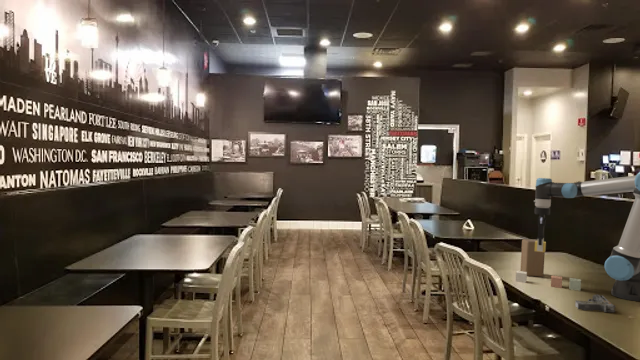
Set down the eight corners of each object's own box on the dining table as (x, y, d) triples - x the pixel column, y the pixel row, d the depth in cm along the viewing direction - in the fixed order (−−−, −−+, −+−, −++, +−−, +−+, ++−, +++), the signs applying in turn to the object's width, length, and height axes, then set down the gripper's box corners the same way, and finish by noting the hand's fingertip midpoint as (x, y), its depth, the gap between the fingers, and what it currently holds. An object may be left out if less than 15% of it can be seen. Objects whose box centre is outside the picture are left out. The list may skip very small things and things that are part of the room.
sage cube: (580, 288, 235) (580, 279, 235) (580, 291, 231) (580, 281, 231) (569, 287, 238) (569, 277, 238) (569, 289, 233) (569, 279, 233)
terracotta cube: (561, 286, 239) (562, 276, 239) (561, 288, 235) (562, 278, 235) (551, 284, 242) (551, 275, 242) (550, 286, 237) (551, 277, 237)
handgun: (568, 299, 218) (604, 302, 214) (577, 311, 199) (617, 315, 194) (568, 291, 218) (604, 294, 214) (578, 302, 199) (617, 306, 194)
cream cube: (526, 281, 248) (526, 272, 247) (525, 283, 243) (526, 273, 243) (516, 279, 250) (516, 270, 250) (515, 281, 246) (516, 272, 245)
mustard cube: (545, 251, 244) (546, 241, 244) (544, 252, 240) (545, 243, 240) (535, 249, 247) (535, 240, 246) (534, 251, 242) (535, 241, 242)
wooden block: (537, 273, 268) (539, 239, 267) (544, 277, 258) (545, 242, 257) (519, 272, 269) (521, 238, 268) (525, 276, 259) (527, 241, 258)
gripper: (535, 205, 252) (533, 247, 253) (533, 207, 236) (531, 252, 237) (550, 206, 248) (548, 248, 249) (549, 208, 233) (547, 253, 233)
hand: (540, 250), depth 243 cm, fingers closed on mustard cube, 5 cm apart
